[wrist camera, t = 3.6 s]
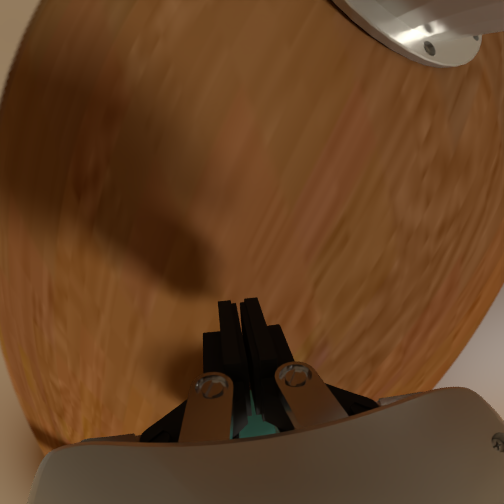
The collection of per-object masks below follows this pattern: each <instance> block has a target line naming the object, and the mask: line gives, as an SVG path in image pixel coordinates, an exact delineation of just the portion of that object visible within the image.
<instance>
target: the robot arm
mask: <svg viewBox="0 0 504 504" xmlns="http://www.w3.org/2000/svg"><path fill="white" fill-rule="evenodd" d="M332 1H333V2H334V3H335V4H336V5H337V6H338V7H339V8H340V9H341V10H342V11H343V12H344V13H345V14H346V15H347V16H348V17H349V18H350V19H351V20H352V21H354V22H355V23H356V24H357V25H359V26H360V27H361V28H362V29H364V30H365V31H366V32H367V33H368V34H370V35H371V36H372V37H374V38H375V39H377V40H378V41H380V42H381V43H383V44H384V45H385V46H387V47H388V48H390V49H391V50H393V51H395V52H397V53H399V54H401V55H402V56H404V57H406V58H408V59H410V60H413V61H416V62H418V63H421V64H423V65H427V66H432V67H438V68H443V67H454V66H459V65H463V64H466V63H468V62H469V61H470V60H472V59H473V58H474V57H475V55H476V54H477V52H478V51H479V48H480V45H481V40H482V34H488V33H494V32H501V31H504V0H332ZM218 308H219V320H220V331H218V332H207V333H203V374H201V375H200V376H198V377H196V378H195V379H194V380H193V382H192V384H191V387H190V391H189V395H188V399H187V400H186V401H184V402H183V403H182V404H180V405H179V406H178V407H176V408H175V409H174V410H172V411H171V412H170V413H168V414H167V415H166V416H164V417H163V418H162V419H160V420H159V421H157V422H156V423H155V424H153V425H152V426H151V427H149V428H148V429H146V430H145V431H144V432H143V433H142V435H138V436H135V434H134V433H133V434H126V435H118V436H110V437H100V438H89V439H85V440H82V441H81V442H79V443H74V444H69V445H64V446H61V447H58V448H56V449H54V450H52V451H51V452H49V453H48V454H47V455H46V456H45V457H44V459H43V460H42V462H41V464H40V466H39V468H38V470H37V473H36V475H35V477H34V480H33V483H32V487H31V491H30V494H29V498H28V502H27V504H504V420H503V419H502V418H501V417H500V416H499V414H498V413H497V412H496V411H495V410H494V409H493V408H492V407H491V406H490V405H489V404H488V403H487V402H486V401H485V400H484V399H483V398H482V397H481V396H480V395H478V394H477V393H476V392H474V391H472V390H470V389H468V388H464V387H448V388H447V387H446V388H440V389H434V390H429V391H426V392H417V393H412V394H406V395H400V396H393V397H387V398H379V401H377V402H375V401H373V400H372V399H369V398H367V397H364V396H361V395H358V394H354V393H351V392H348V391H346V390H343V389H340V388H337V387H334V386H331V385H328V384H326V383H324V382H323V380H322V379H321V378H320V376H319V375H318V373H317V372H316V371H315V369H314V368H313V367H312V366H310V365H308V364H306V363H303V362H295V361H294V359H293V356H292V354H291V351H290V349H289V346H288V344H287V341H286V339H285V336H284V334H283V331H282V329H281V327H280V325H279V324H277V325H270V326H267V325H266V322H265V319H264V316H263V313H262V310H261V307H260V304H259V301H258V298H257V297H256V298H247V299H244V302H241V303H240V313H241V325H242V332H241V327H240V322H239V317H238V311H237V306H236V303H232V304H231V300H228V301H218ZM249 383H250V386H249ZM250 388H251V393H252V397H253V402H254V407H255V412H256V415H260V414H261V415H262V420H263V422H264V421H266V422H268V423H270V424H272V425H274V429H275V432H276V433H274V434H268V435H262V436H255V437H247V438H241V435H240V431H241V430H242V429H243V428H244V427H245V426H246V425H247V424H248V416H252V409H251V398H250Z"/></svg>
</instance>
